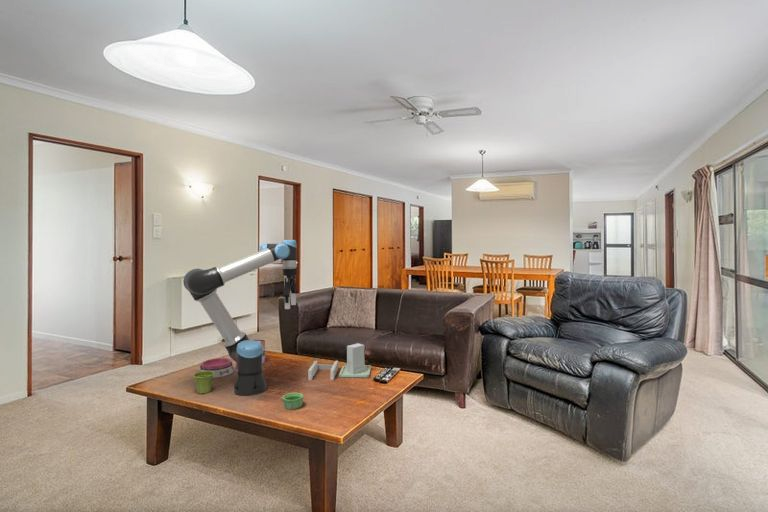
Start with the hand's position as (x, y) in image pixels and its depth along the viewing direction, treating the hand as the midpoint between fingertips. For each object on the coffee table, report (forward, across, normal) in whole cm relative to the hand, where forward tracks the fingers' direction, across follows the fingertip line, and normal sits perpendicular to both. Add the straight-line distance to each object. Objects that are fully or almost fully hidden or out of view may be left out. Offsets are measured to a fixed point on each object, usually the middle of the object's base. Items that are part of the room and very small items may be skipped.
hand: (290, 307), depth 230 cm
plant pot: (+37, -28, +36) cm, 59 cm away
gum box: (+37, +12, +27) cm, 47 cm away
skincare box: (+36, +1, -35) cm, 51 cm away
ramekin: (+37, -46, -12) cm, 60 cm away
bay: (+37, -1, -18) cm, 41 cm away
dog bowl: (+37, +1, +42) cm, 56 cm away
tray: (+37, +1, -35) cm, 51 cm away
